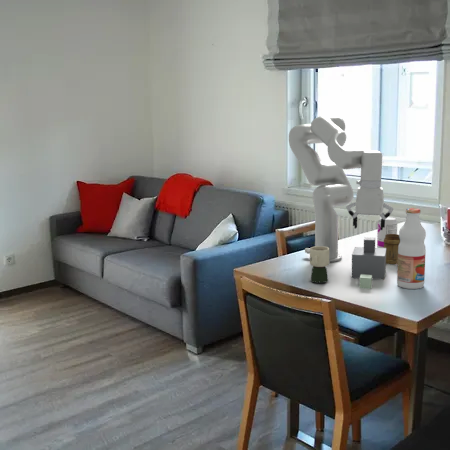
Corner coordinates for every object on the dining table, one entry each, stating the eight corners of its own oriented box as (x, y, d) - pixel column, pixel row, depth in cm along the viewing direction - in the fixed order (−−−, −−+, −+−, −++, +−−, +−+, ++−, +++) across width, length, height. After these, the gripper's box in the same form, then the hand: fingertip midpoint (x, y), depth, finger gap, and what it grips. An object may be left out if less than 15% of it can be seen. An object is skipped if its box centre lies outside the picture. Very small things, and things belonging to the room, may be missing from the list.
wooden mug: (411, 267, 241) (413, 222, 237) (378, 263, 247) (379, 220, 244) (416, 261, 248) (418, 218, 245) (383, 258, 255) (385, 216, 251)
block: (359, 288, 217) (359, 277, 216) (360, 284, 221) (360, 274, 220) (370, 289, 216) (371, 278, 215) (371, 285, 219) (372, 275, 219)
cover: (351, 277, 229) (352, 241, 226) (354, 268, 241) (355, 234, 238) (384, 279, 226) (385, 243, 223) (385, 270, 237) (386, 235, 234)
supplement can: (375, 253, 262) (376, 219, 259) (378, 249, 269) (379, 216, 266) (395, 255, 259) (396, 220, 256) (397, 250, 266) (398, 217, 263)
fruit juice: (398, 280, 224) (400, 206, 218) (425, 282, 220) (428, 207, 215) (395, 288, 215) (397, 211, 210) (423, 290, 212) (426, 212, 206)
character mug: (314, 277, 231) (314, 244, 229) (332, 278, 228) (332, 245, 226) (305, 285, 222) (305, 251, 219) (324, 287, 219) (325, 252, 216)
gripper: (346, 185, 225) (344, 229, 229) (394, 186, 220) (391, 232, 224) (348, 181, 232) (346, 224, 236) (394, 183, 227) (392, 227, 231)
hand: (368, 228), depth 230 cm, fingers open, 9 cm apart
